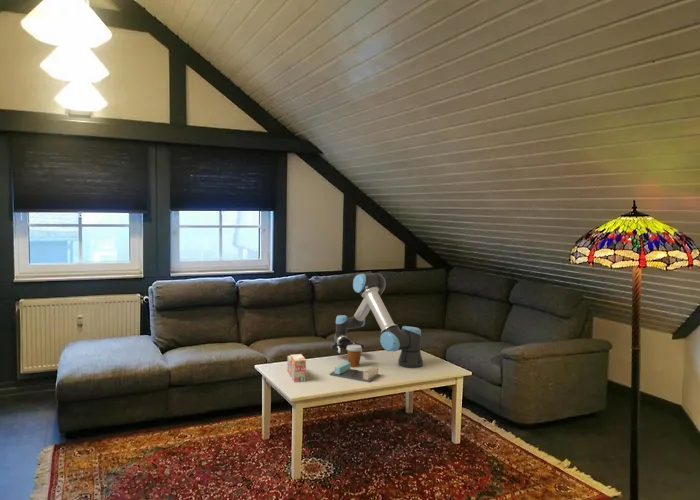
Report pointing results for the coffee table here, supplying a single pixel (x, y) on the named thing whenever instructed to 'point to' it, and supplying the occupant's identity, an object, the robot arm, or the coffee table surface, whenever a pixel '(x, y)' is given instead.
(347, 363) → the bar
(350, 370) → the base
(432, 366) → the coffee table surface
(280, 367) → the coffee table surface
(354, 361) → the disposable coffee cup
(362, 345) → the robot arm
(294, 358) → the stack of blocks
